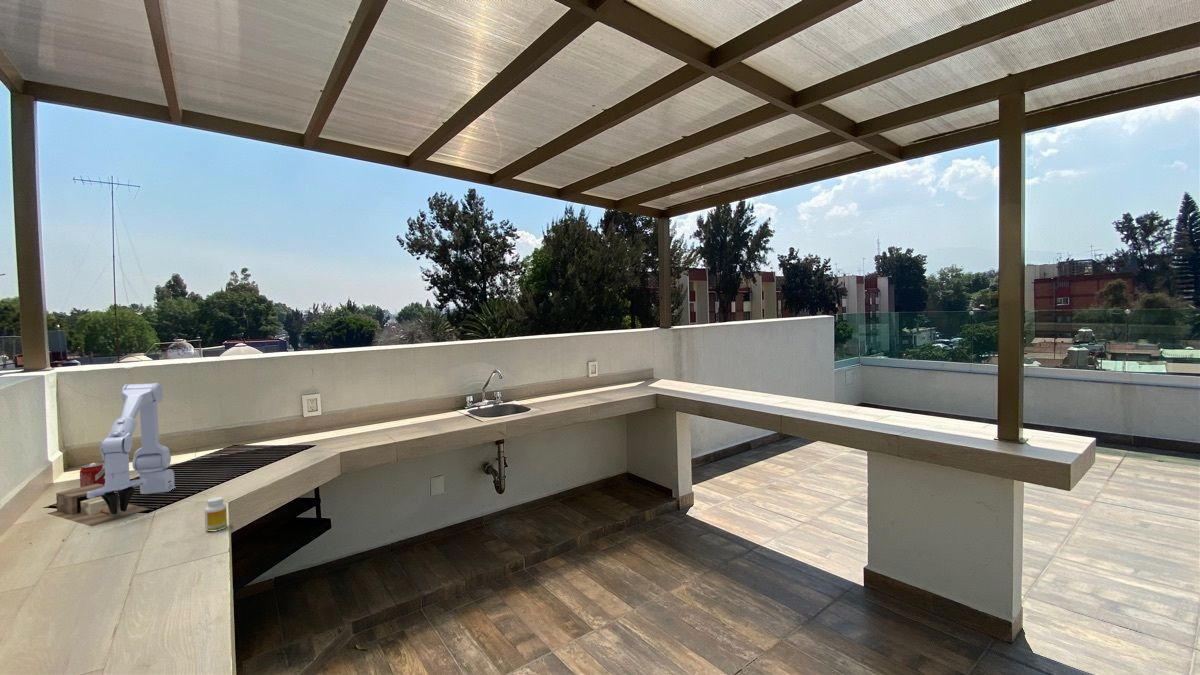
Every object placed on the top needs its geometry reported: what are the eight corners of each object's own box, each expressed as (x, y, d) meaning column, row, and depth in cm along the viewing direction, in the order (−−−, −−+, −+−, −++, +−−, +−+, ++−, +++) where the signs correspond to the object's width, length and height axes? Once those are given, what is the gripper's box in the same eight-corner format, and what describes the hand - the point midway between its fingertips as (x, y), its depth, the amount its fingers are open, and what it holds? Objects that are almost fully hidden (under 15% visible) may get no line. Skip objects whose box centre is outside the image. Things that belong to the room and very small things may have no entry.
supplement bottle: (230, 527, 154) (229, 497, 154) (211, 533, 150) (210, 503, 149) (221, 524, 157) (220, 494, 156) (201, 530, 152) (200, 500, 152)
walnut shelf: (46, 516, 163) (45, 495, 162) (105, 500, 177) (104, 481, 176) (91, 529, 152) (91, 506, 152) (150, 511, 166) (149, 491, 166)
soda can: (89, 499, 178) (88, 467, 177) (75, 498, 179) (74, 466, 178) (111, 493, 184) (110, 462, 184) (97, 491, 186) (96, 461, 185)
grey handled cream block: (80, 512, 163) (80, 495, 163) (104, 506, 169) (103, 489, 168) (104, 519, 158) (103, 501, 158) (127, 512, 164) (126, 495, 163)
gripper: (94, 480, 151) (96, 522, 152) (151, 467, 165) (152, 506, 165) (82, 477, 154) (84, 519, 154) (139, 465, 167) (140, 503, 168)
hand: (118, 512), depth 160 cm, fingers closed on grey handled cream block
